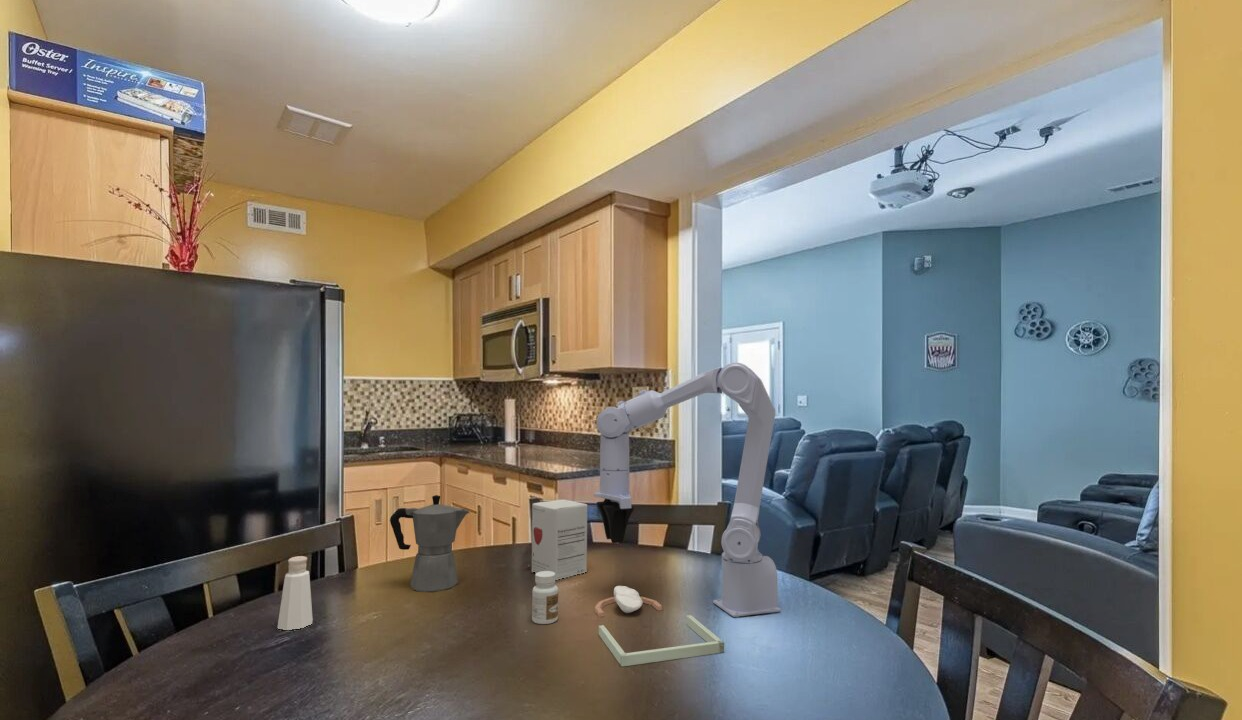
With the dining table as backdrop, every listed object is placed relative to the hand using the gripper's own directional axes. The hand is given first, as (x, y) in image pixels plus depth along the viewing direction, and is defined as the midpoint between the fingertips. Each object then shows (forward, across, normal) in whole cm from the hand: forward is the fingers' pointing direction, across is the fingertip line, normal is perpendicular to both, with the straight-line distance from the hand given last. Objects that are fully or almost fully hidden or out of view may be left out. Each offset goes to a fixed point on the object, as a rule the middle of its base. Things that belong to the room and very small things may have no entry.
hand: (614, 540), depth 114 cm
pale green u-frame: (+10, +24, 0) cm, 26 cm away
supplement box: (+11, -18, -7) cm, 22 cm away
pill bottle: (+11, +8, -15) cm, 20 cm away
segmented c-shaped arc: (+10, +6, 0) cm, 12 cm away
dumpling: (+11, +8, 0) cm, 14 cm away
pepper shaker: (+11, -2, -55) cm, 56 cm away
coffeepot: (+11, -18, -34) cm, 40 cm away
